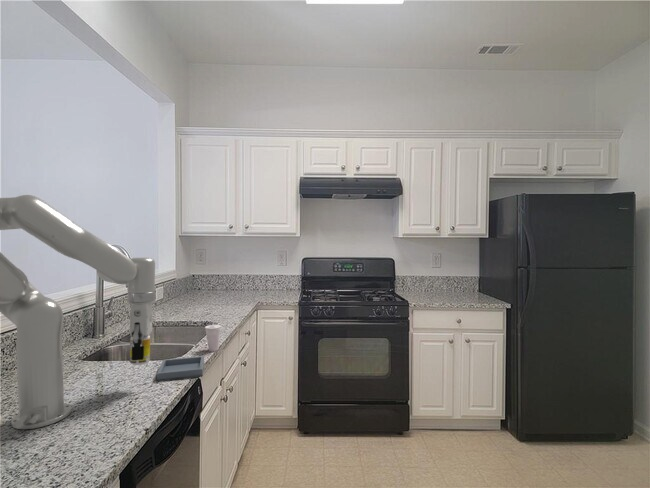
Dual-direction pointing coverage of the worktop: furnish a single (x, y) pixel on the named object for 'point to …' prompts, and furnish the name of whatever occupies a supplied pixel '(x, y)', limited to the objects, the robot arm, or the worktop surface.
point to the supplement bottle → (146, 351)
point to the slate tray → (181, 368)
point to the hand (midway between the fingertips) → (139, 356)
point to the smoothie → (213, 336)
